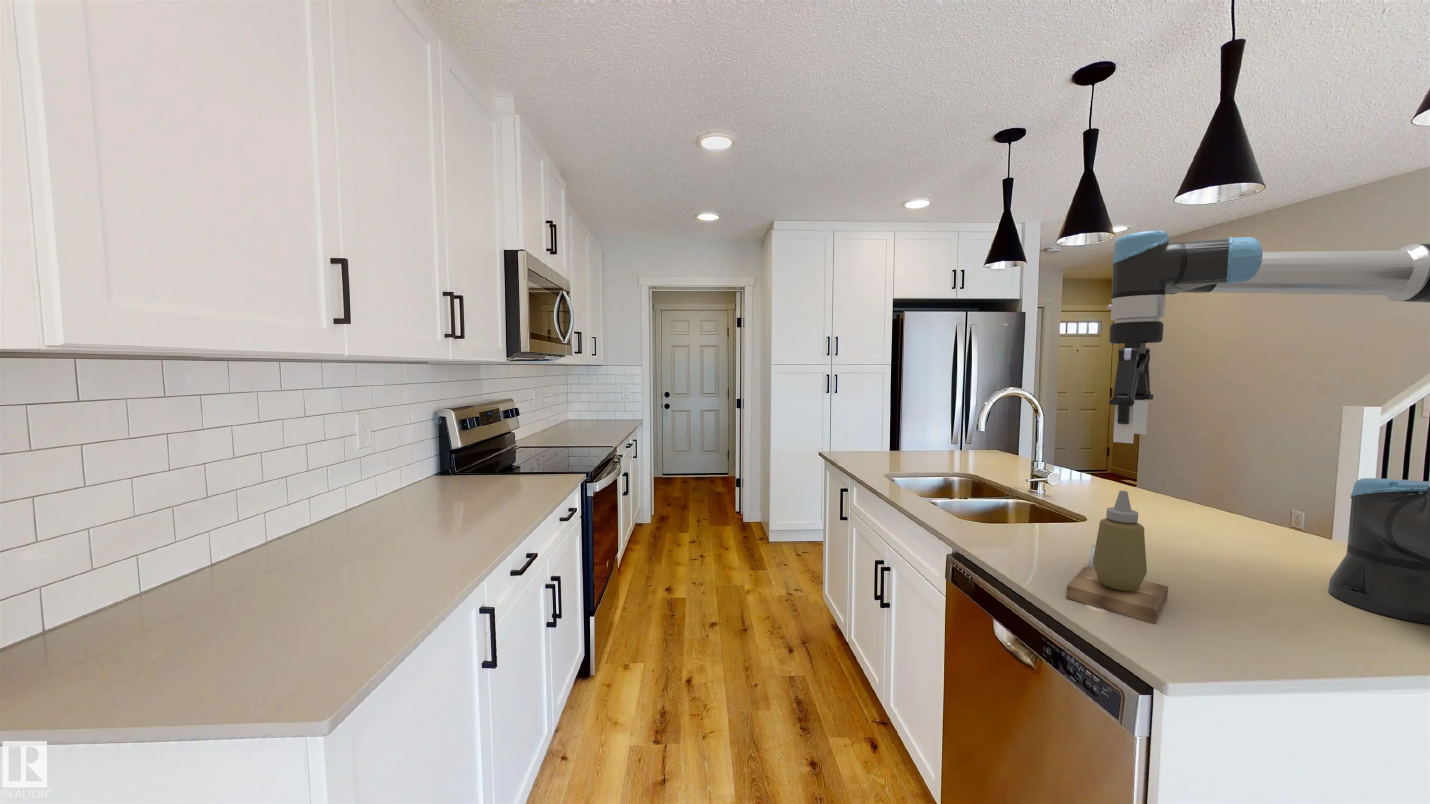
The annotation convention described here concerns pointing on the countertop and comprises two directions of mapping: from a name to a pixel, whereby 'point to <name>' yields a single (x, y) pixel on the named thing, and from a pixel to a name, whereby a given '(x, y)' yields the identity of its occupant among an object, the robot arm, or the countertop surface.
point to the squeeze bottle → (1120, 547)
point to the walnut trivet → (1118, 596)
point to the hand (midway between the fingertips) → (1130, 438)
